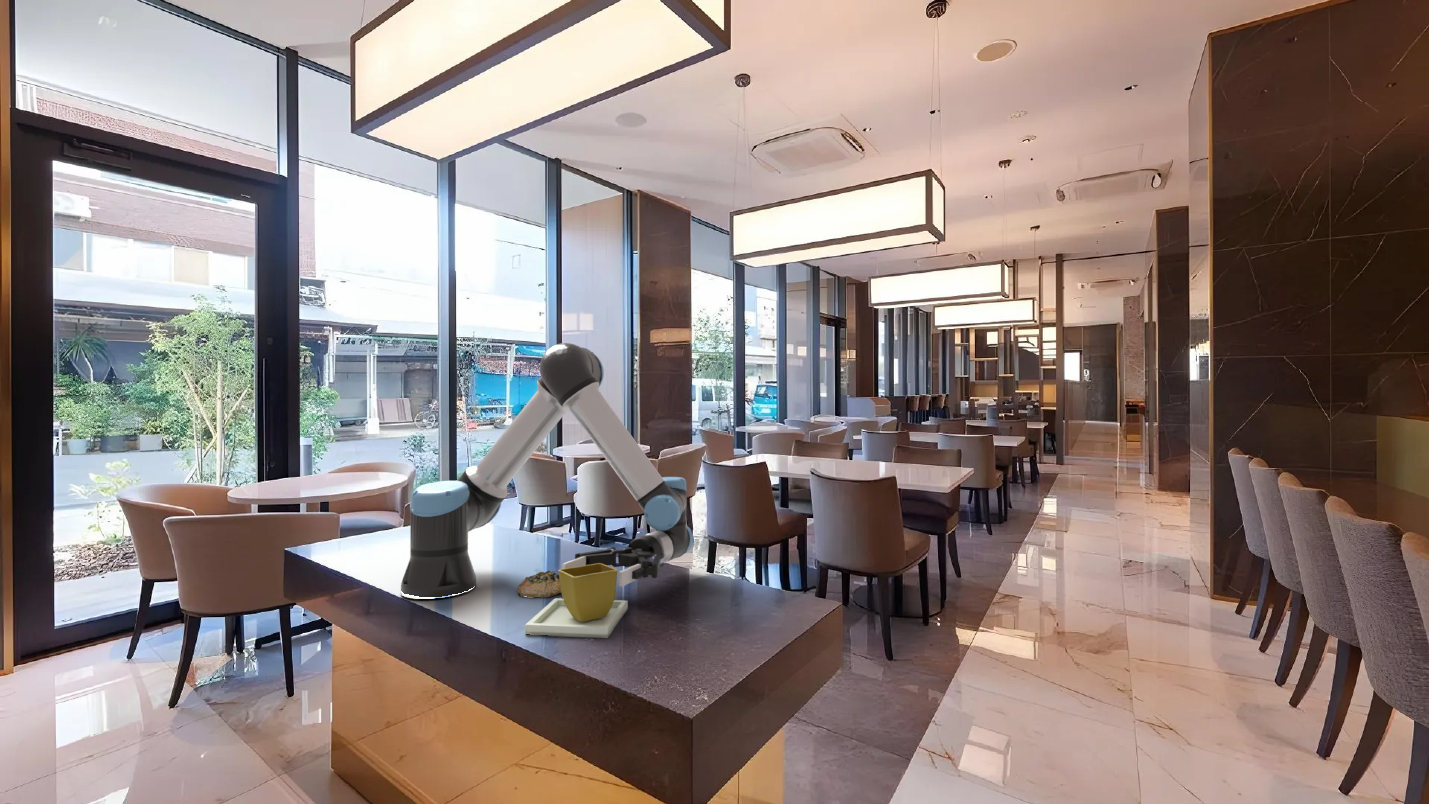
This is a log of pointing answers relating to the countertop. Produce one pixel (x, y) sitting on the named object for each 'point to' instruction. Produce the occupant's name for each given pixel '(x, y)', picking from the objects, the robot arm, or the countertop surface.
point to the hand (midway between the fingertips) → (591, 574)
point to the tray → (574, 621)
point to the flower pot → (588, 590)
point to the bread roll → (540, 585)
